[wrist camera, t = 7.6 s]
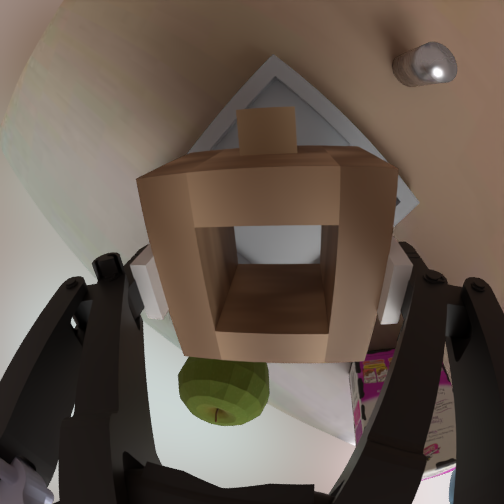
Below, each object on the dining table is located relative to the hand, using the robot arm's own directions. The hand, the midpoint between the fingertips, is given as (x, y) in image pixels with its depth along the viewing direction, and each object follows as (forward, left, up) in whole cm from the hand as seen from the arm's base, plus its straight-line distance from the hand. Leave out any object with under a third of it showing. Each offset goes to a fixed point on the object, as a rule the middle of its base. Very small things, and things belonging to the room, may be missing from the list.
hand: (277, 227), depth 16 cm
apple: (-7, +15, -8) cm, 18 cm away
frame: (0, 0, 0) cm, 0 cm away
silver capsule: (0, -15, -7) cm, 17 cm away
